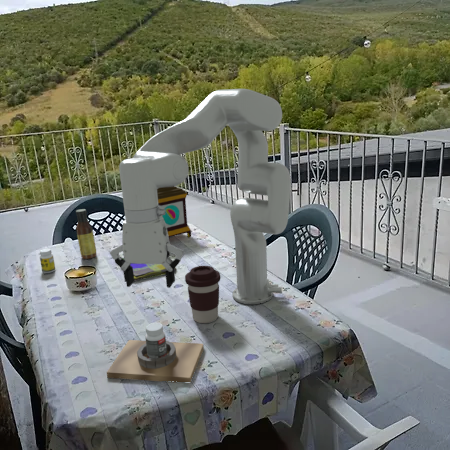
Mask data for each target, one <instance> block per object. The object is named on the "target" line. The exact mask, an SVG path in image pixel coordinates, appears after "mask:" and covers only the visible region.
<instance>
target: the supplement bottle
mask: <svg viewBox="0 0 450 450" xmlns="http://www.w3.org/2000/svg"><path fill="white" fill-rule="evenodd" d="M39 255H40V256H39V261H40V265H41V266H40V267H41V271H42V273H43V274H49V273H50V274H51V273H52V272H55V271H56V266H55V259H54V254H53V251H52V249H51V248H43V249H41V250H39Z"/></svg>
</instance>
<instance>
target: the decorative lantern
mask: <svg viewBox="0 0 450 450" xmlns="http://www.w3.org/2000/svg"><path fill="white" fill-rule="evenodd" d="M157 195H158V205H160V208H161V209H165V215H162V216H160V217H162V218H164V221H165V224H166V228H167V232H168V237H169V239H170V238H173V237H176V236H180V235H183V234H186V235H187V238H189V237H190V238H191V237H192V230H191V228H190V227H189V225H188V217H187V215H188V213H187V203H186V198H187V195H188V192H187V191H186V190H184V189H183V188H181V187H177V186H173V187H162V188H158V189H157Z"/></svg>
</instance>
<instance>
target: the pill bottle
mask: <svg viewBox="0 0 450 450" xmlns="http://www.w3.org/2000/svg"><path fill="white" fill-rule="evenodd" d="M145 333H146V334H145V341H146V347H147V356H148V358H151V359H157V358H161V357H164V356H165V355H167V348H166V341H167V340H166V333H165V331H164V326H163V324H162V323H161V322H157V321H155V322H154V321H153V322H151V323H149V324H147V325H146V327H145Z"/></svg>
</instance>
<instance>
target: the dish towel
mask: <svg viewBox="0 0 450 450" xmlns="http://www.w3.org/2000/svg"><path fill="white" fill-rule="evenodd" d="M122 258H123V259H124V257H122ZM130 266H132V267H133V274H134V282H135V281H140V280H145V279H146V280H147V279H151V278H154V277H155V278H156V277H160V276H163V275H165V276H166V274H165V273H166V271H167V269H166V268H165V267H164V266H163V265H162V264H131V265H130ZM176 272H177V268H176V267H175V268H174V273H176Z"/></svg>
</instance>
